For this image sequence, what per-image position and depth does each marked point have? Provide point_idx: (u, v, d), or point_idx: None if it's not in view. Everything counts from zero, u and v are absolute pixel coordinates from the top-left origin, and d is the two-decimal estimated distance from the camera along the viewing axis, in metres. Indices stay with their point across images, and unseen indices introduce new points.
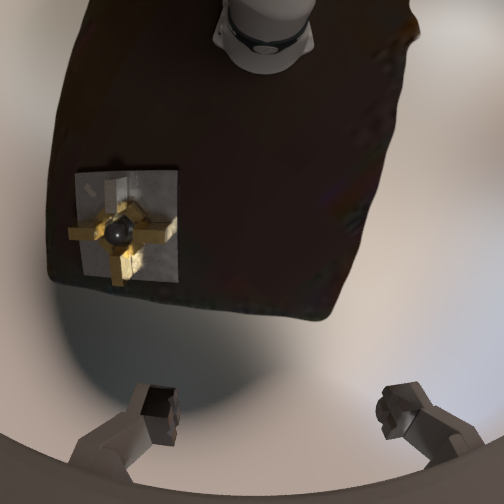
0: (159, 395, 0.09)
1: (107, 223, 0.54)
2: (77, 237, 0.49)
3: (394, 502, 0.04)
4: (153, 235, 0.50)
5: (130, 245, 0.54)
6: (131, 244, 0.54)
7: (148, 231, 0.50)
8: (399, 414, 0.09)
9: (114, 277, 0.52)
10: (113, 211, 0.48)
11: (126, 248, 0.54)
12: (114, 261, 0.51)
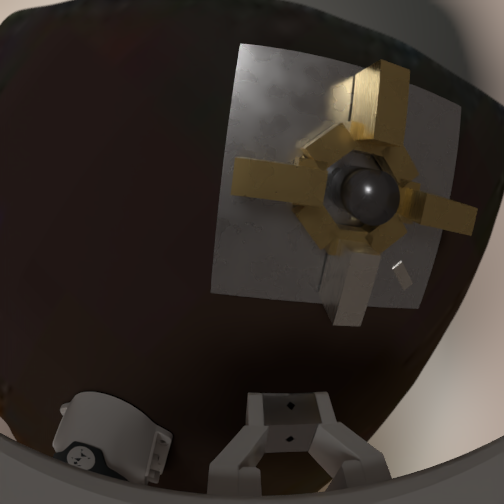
0: (276, 402, 0.09)
1: None
2: (460, 209, 0.19)
3: (394, 502, 0.04)
4: (264, 184, 0.19)
5: (342, 151, 0.21)
6: (340, 152, 0.21)
7: (275, 196, 0.19)
8: (292, 426, 0.08)
9: (400, 88, 0.16)
10: (360, 258, 0.20)
11: (354, 145, 0.21)
12: (391, 129, 0.17)
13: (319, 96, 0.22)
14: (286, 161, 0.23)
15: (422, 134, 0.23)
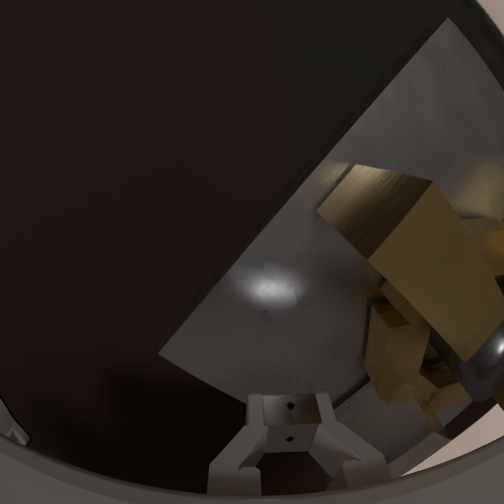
0: (276, 403, 0.09)
1: None
2: None
3: (394, 502, 0.04)
4: (438, 279, 0.06)
5: (497, 269, 0.10)
6: (495, 268, 0.10)
7: (434, 316, 0.07)
8: (292, 426, 0.08)
9: None
10: (433, 439, 0.09)
11: None
12: None
13: (497, 166, 0.11)
14: None
15: None
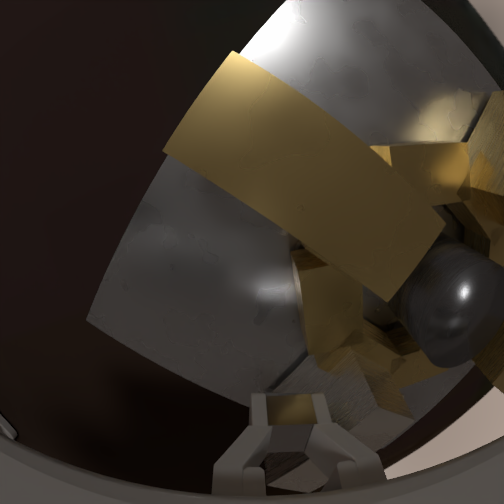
0: (280, 402, 0.09)
1: None
2: None
3: (394, 502, 0.04)
4: (277, 166, 0.06)
5: (446, 194, 0.09)
6: (442, 193, 0.09)
7: (291, 220, 0.06)
8: None
9: None
10: (383, 418, 0.08)
11: (466, 195, 0.09)
12: None
13: (434, 84, 0.10)
14: None
15: None
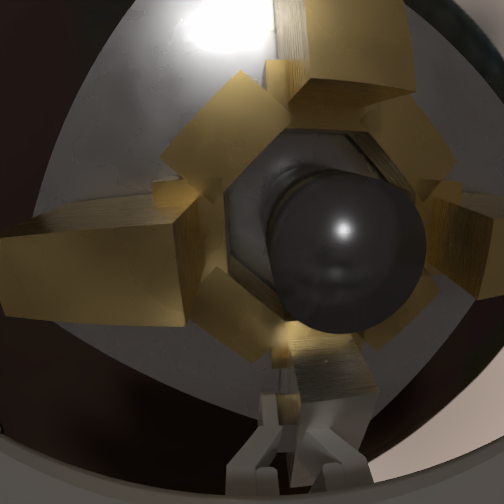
0: (289, 402, 0.09)
1: None
2: None
3: (394, 502, 0.04)
4: (39, 289, 0.06)
5: (255, 139, 0.08)
6: (250, 143, 0.08)
7: (70, 315, 0.07)
8: None
9: None
10: (325, 408, 0.08)
11: (286, 118, 0.08)
12: (367, 41, 0.05)
13: None
14: (192, 108, 0.10)
15: (480, 175, 0.11)
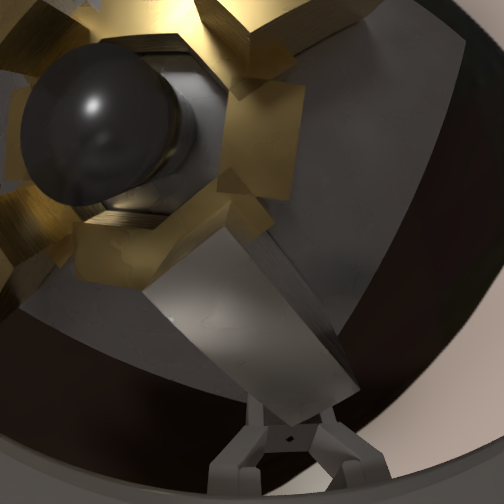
0: None
1: (224, 89, 0.09)
2: None
3: (394, 502, 0.04)
4: None
5: None
6: None
7: None
8: None
9: None
10: (175, 285, 0.06)
11: None
12: (2, 16, 0.04)
13: None
14: None
15: (360, 50, 0.09)
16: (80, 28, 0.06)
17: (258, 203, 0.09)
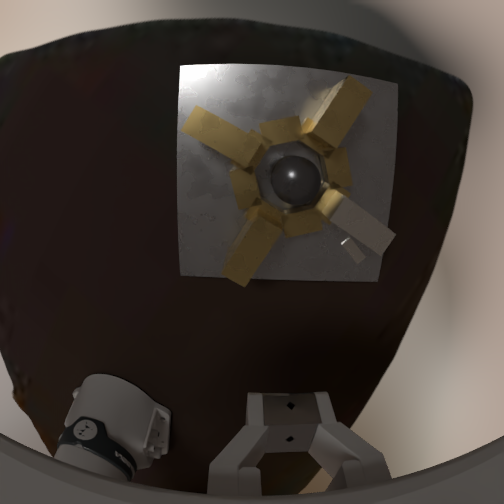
0: (276, 402, 0.09)
1: (317, 153, 0.27)
2: (342, 97, 0.21)
3: (394, 502, 0.04)
4: (247, 263, 0.25)
5: (252, 180, 0.26)
6: (252, 183, 0.26)
7: (260, 259, 0.25)
8: (292, 426, 0.08)
9: (210, 122, 0.22)
10: (337, 215, 0.24)
11: (251, 168, 0.26)
12: (243, 147, 0.22)
13: (250, 99, 0.26)
14: (227, 159, 0.28)
15: None
16: (260, 143, 0.25)
17: (344, 189, 0.26)
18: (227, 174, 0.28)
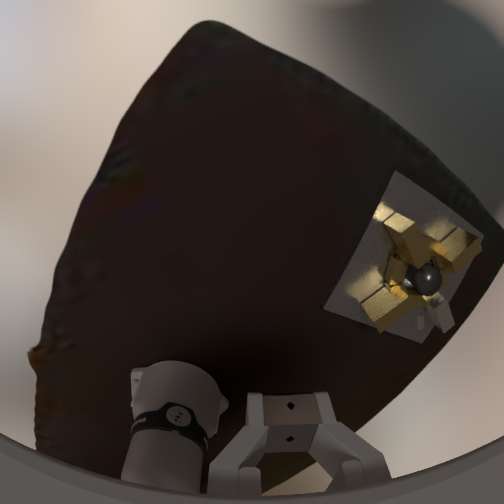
0: (276, 403, 0.09)
1: (435, 264, 0.39)
2: (470, 248, 0.34)
3: (394, 502, 0.04)
4: (389, 320, 0.37)
5: (404, 270, 0.38)
6: (404, 271, 0.38)
7: (396, 320, 0.37)
8: (292, 426, 0.08)
9: (416, 236, 0.33)
10: (438, 307, 0.37)
11: (407, 263, 0.38)
12: (422, 257, 0.34)
13: (419, 216, 0.38)
14: (391, 247, 0.39)
15: None
16: None
17: (439, 290, 0.39)
18: (386, 256, 0.40)
